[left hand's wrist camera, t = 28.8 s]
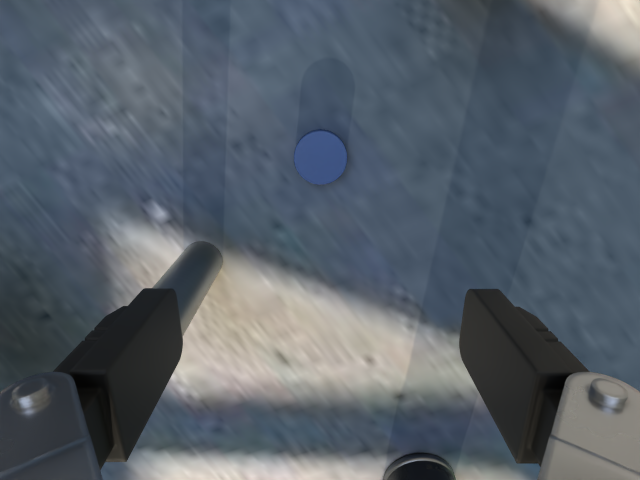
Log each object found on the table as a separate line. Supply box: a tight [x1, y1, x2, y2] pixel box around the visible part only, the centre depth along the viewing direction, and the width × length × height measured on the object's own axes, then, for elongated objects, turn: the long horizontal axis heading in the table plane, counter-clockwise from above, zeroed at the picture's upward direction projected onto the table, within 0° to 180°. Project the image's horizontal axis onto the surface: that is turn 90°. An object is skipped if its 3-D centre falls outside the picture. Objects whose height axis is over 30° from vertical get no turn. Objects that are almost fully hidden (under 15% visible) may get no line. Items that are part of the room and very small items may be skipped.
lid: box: [294, 130, 347, 185], centre depth 38 cm, size 5×5×2 cm
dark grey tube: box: [153, 242, 222, 337], centre depth 34 cm, size 4×4×19 cm
